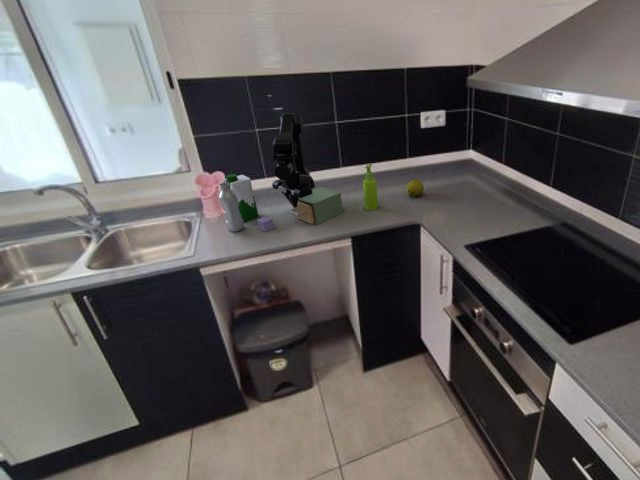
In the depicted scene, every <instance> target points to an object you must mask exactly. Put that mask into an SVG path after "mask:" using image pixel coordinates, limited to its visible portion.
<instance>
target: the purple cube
mask: <svg viewBox="0 0 640 480" xmlns="http://www.w3.org/2000/svg"><path fill="white" fill-rule="evenodd" d="M256 221H257V225H258V229H259V230H261V231H263V232H268V231H269V230H272V229H274V228H275V226H274V222H273V218H271V217H269V216H267V215H265V216H262V217H260V218H258V219H256Z"/></svg>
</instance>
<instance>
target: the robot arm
mask: <svg viewBox="0 0 640 480" xmlns="http://www.w3.org/2000/svg"><path fill="white" fill-rule="evenodd" d="M303 127H304V119H303V117H302V116H301V115H298V114H295V113H292V112H291V113H290V112H289V113H282V114H280V129H279V134H278V135H276V136H275V137H274V140H273V142H272V160H273V161H277V165H276V166H275V168H274V175H275V177H276V178H277V179H276V180H273V181H272V182H271V186H272V189H274V190H275V191H276V190H278V189H279V187H281V189H282V190H281V194H283V196H284V197H285V198H286V199H287V201H288V202H289V203H290V205H291V206H292V208H293V207H294V208H296V207H297V204H298V199H299V198H303V197H306V196H308V195H311V194H312V190H314V189H315V188H316V184H315V181H314V179H313V177H312V175H311V172H310V170H309V169H308V168H307V167H306V163H305V158H304V157H305V156H304V152H303V150H304V149H303V146H302V145H303V144H302V139H301V134H302V132H303V129H304V128H303Z"/></svg>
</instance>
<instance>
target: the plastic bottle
mask: <svg viewBox="0 0 640 480" xmlns="http://www.w3.org/2000/svg"><path fill="white" fill-rule="evenodd" d="M218 186H219V190H220V192H219V194H218V201H219V202H220V205H221V207H222V210H223V212H224V217H225V225H226V227H227V230H228V231H230V232H239V231H241V230H243V229H244V227H245V222H244V221H243V219H242V217H241V215H240V212H239V208H238V203H237V195H236V194H235V192H234V191H232V190H231V189H230V188H231V187H230V184H229V183H228V182H225V181H224V182H221V183H219V184H218Z"/></svg>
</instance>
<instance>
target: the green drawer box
mask: <svg viewBox="0 0 640 480" xmlns="http://www.w3.org/2000/svg"><path fill="white" fill-rule="evenodd" d="M299 200H301V201H304V202H307V203H309V204H312V205H313V208H314V214H315V220H314V223H313V224H314V225H319V224H321V223H323V222H326V221H327V220H330V219H332V218H334V217H336V216H338V215H341V214H342V213H344V211H343V210H344V209H343V203H342V202H343V201H342V193H341V192H339V191H337V190H334V189H332V188H328V187H324V186H319V187H317V188H316V187H315V188H313V189H312V194H311V195H308V196H306V197H303V198H299Z"/></svg>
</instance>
